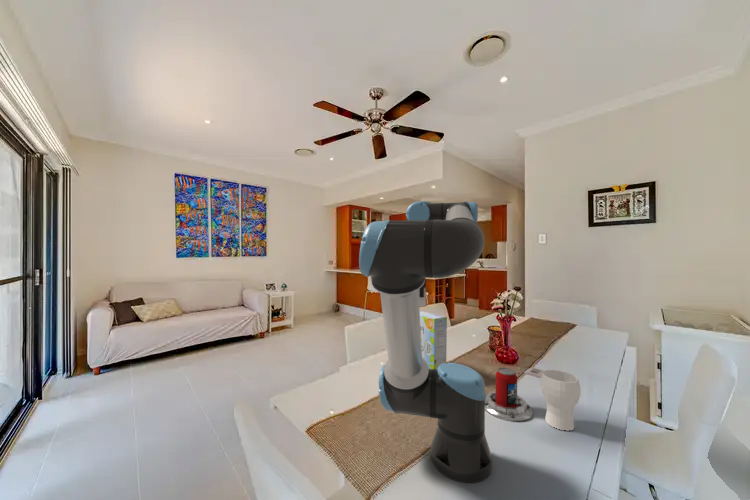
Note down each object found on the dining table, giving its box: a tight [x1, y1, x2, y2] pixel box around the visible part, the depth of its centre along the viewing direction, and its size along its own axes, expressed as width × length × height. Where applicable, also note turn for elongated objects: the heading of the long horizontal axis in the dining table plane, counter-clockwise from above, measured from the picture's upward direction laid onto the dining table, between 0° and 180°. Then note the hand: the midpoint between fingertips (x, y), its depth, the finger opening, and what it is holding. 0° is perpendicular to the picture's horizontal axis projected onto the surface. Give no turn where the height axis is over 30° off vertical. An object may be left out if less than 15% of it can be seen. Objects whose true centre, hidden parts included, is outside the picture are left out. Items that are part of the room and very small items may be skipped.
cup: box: [539, 369, 581, 432], centre depth 91 cm, size 11×11×15 cm
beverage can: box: [495, 367, 518, 408], centre depth 100 cm, size 7×7×12 cm
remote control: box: [523, 367, 544, 379], centre depth 126 cm, size 7×16×3 cm, turn 44°
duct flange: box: [485, 390, 534, 423], centre depth 100 cm, size 16×16×3 cm
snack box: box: [420, 310, 448, 370], centre depth 131 cm, size 22×9×26 cm, turn 36°
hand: (421, 303), depth 106 cm, fingers open, 13 cm apart
